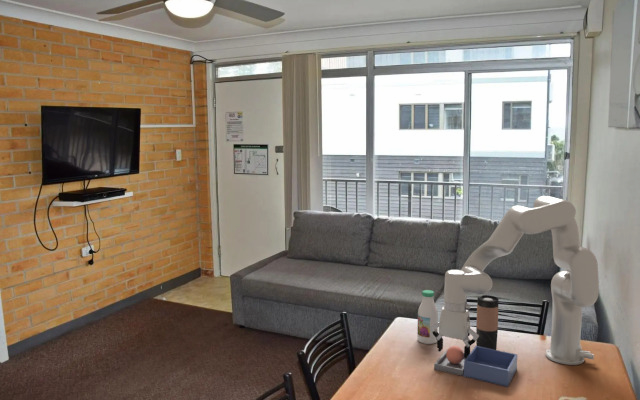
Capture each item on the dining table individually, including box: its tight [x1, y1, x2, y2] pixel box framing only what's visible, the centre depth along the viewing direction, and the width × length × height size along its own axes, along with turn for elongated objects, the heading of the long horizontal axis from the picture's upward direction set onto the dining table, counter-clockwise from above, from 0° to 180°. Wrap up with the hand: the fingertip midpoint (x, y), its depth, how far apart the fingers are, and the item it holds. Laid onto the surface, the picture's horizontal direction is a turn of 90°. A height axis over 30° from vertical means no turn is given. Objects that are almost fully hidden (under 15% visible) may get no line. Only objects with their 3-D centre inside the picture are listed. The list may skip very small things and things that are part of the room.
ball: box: [446, 345, 464, 364], centre depth 181 cm, size 6×6×6 cm
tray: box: [433, 348, 468, 377], centre depth 181 cm, size 10×14×2 cm
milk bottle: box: [416, 289, 439, 345], centre depth 201 cm, size 8×8×20 cm
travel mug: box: [475, 294, 500, 350], centre depth 192 cm, size 8×8×20 cm
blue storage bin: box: [463, 345, 518, 388], centre depth 175 cm, size 14×14×6 cm
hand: (453, 353), depth 181 cm, fingers open, 8 cm apart
